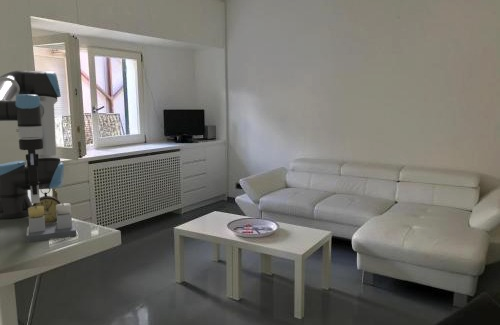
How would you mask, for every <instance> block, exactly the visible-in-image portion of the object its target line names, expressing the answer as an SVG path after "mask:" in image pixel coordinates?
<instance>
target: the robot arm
mask: <svg viewBox="0 0 500 325" xmlns="http://www.w3.org/2000/svg"><path fill="white" fill-rule="evenodd" d="M60 89H61V88H60V84H59V80H58V76H57V74H56V73H55V72H54V71H47V70H44V71H43V70H14V71H13V70H12V71H9V72H8V73H7V72H6V73H5V74H2V75H1V76H0V122H17V128H16V130H15V132H17V135H18V138H19V139H18V148H19V150H21V151H27V154H25V159H26V160H16V161H10V162H5V163H0V219H1V220H6V219H17V218H23V217H29V213H28V208H29V207H32V205H33V203H40V190H49V188H50V190H52V189H59V188H60V187H62V186H63V182H64V175H65V164H64V162H63V161H61V158H60V156H57V138H56V118H55V104H57V103H58V98H60V97H61V95H62V94H61V91H60ZM13 99H15V100H13ZM43 186H45V187H43ZM46 186H48V187H49V188H48V187H46ZM42 187H43V188H42ZM41 188H42V189H41ZM29 191H30V197H29Z"/></svg>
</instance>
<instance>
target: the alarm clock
mask: <svg viewBox="0 0 500 325" xmlns="http://www.w3.org/2000/svg"><path fill="white" fill-rule="evenodd" d="M43 187H45V186H43ZM43 187H42V188H43ZM46 187H48V186H46ZM42 188H41V189H40V192H41V194H43V195H44V196H41V197H40V203H32V207H33V206H44V217H45V224H51V223H57V218H56V205H57V204H62V203H61V201H60V200H59V198H57V197H54V196H53V195H47V194H49V193H50V192H51V189H50V188H49V187H48V188H49V189H48V192H45V191H44V192H43V191H42V190H43V189H42Z"/></svg>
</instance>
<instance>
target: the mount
mask: <svg viewBox="0 0 500 325" xmlns="http://www.w3.org/2000/svg"><path fill="white" fill-rule="evenodd" d="M56 218H57V221H56V222H55V223H51V224H45V217H44V215H43V216H40V217H38V218H34V217H29V216H28V226H27V228H26V236H25V238H26V241H25V242H26V243H30V242H31V243H32V242H38V241H44V240H45V241H46V240H51V239H61V238H66V237H74V236H75V237H76V236H77V228H76V225H75V221H74V220H73V218H72V211H71V212H70V213H67V214H65V215H61V214H56Z"/></svg>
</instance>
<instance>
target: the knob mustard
mask: <svg viewBox="0 0 500 325" xmlns="http://www.w3.org/2000/svg"><path fill="white" fill-rule="evenodd" d="M28 213H29V215H28V218H29V217H34V218H38V217H40V216H43V215H44V206H33V207H29V208H28Z"/></svg>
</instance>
